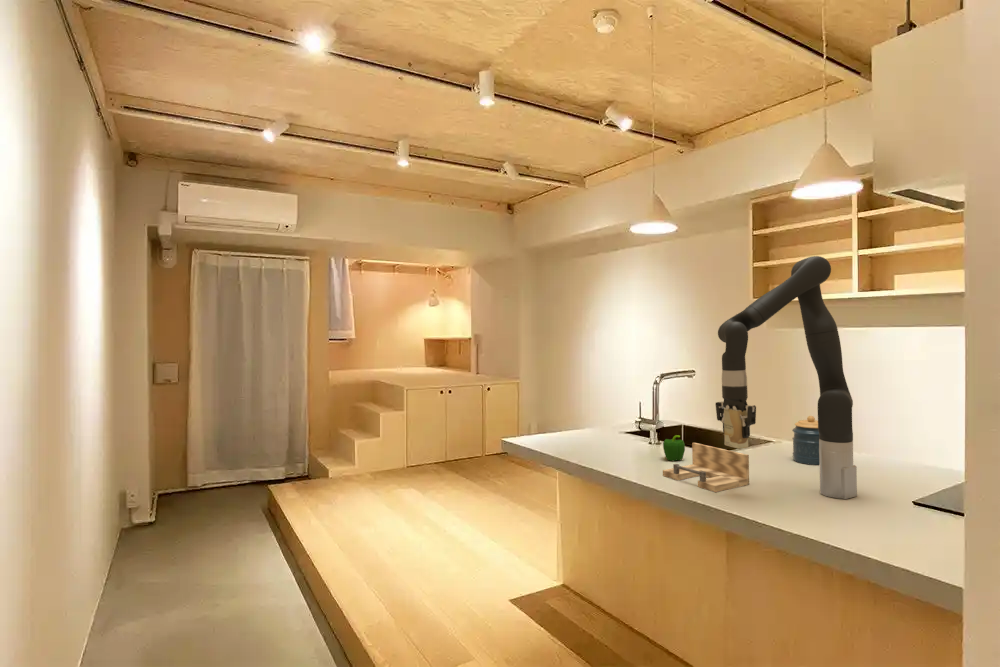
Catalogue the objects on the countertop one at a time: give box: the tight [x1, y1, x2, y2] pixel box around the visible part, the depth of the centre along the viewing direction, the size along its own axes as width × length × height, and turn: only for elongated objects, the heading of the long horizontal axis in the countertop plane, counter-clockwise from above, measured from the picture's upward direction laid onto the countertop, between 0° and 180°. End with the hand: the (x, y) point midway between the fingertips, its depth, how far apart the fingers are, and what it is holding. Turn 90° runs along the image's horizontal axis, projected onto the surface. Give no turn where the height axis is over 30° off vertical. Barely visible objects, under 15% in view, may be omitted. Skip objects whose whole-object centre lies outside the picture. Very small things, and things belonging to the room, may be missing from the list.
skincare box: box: [723, 408, 749, 450], centre depth 185 cm, size 6×4×12 cm
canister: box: [791, 415, 820, 466], centre depth 224 cm, size 13×13×18 cm
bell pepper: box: [662, 434, 686, 462], centre depth 232 cm, size 8×8×10 cm
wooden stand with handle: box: [662, 442, 750, 493], centre depth 203 cm, size 24×16×10 cm, turn 28°
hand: (736, 436), depth 185 cm, fingers closed on skincare box, 6 cm apart
